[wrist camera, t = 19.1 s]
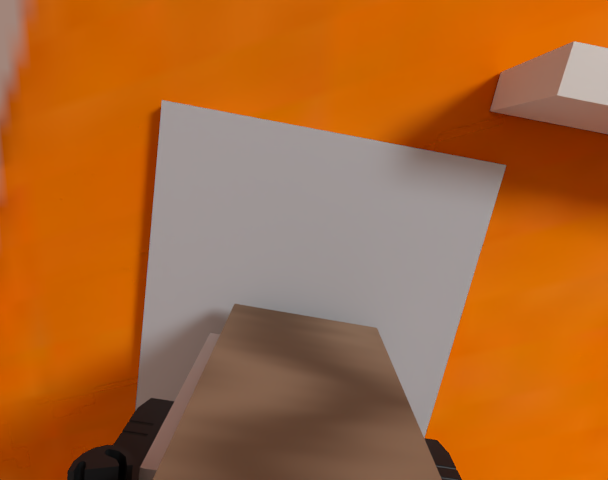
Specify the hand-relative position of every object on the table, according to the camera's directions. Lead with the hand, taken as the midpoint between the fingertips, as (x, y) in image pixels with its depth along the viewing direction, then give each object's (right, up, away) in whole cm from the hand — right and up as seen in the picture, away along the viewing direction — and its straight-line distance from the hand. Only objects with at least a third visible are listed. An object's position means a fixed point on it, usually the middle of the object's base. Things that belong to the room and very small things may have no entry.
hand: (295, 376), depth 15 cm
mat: (0, +1, +2) cm, 2 cm away
